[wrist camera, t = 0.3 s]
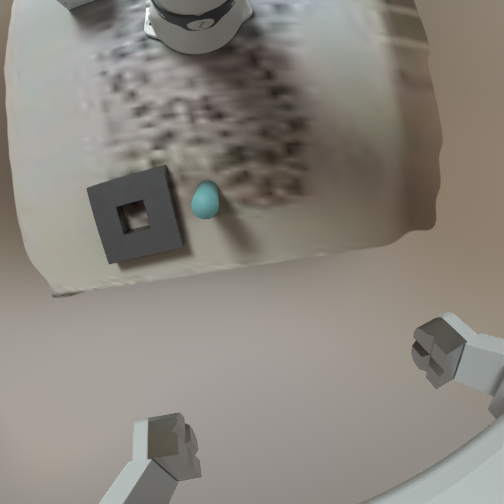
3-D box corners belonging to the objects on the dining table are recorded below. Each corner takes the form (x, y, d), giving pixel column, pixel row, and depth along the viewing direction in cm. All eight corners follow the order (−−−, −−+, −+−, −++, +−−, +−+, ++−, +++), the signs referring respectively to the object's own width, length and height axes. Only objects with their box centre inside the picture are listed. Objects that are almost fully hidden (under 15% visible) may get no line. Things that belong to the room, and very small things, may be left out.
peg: (195, 182, 51) (188, 195, 39) (216, 178, 51) (215, 189, 39) (199, 203, 52) (194, 221, 40) (220, 198, 53) (221, 215, 40)
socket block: (92, 185, 49) (86, 188, 46) (165, 164, 49) (162, 166, 47) (113, 258, 54) (109, 264, 51) (184, 242, 54) (182, 247, 52)
